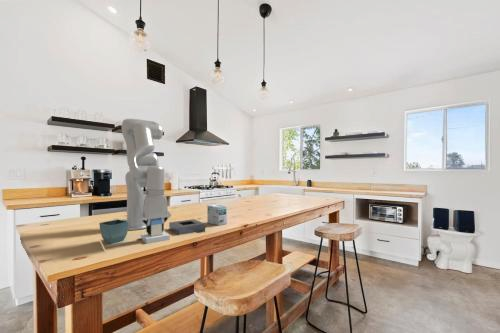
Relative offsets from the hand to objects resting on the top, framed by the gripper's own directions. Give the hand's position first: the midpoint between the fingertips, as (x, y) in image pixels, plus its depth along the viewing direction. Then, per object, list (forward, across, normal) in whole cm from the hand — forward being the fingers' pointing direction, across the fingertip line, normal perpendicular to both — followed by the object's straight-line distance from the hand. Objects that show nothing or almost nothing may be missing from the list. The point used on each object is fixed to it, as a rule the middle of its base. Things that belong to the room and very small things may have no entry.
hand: (155, 232), depth 112 cm
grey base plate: (+3, 0, 0) cm, 3 cm away
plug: (+3, 0, 0) cm, 3 cm away
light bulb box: (+4, +40, +13) cm, 42 cm away
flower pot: (+4, -16, +7) cm, 18 cm away
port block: (+3, +18, +7) cm, 20 cm away
